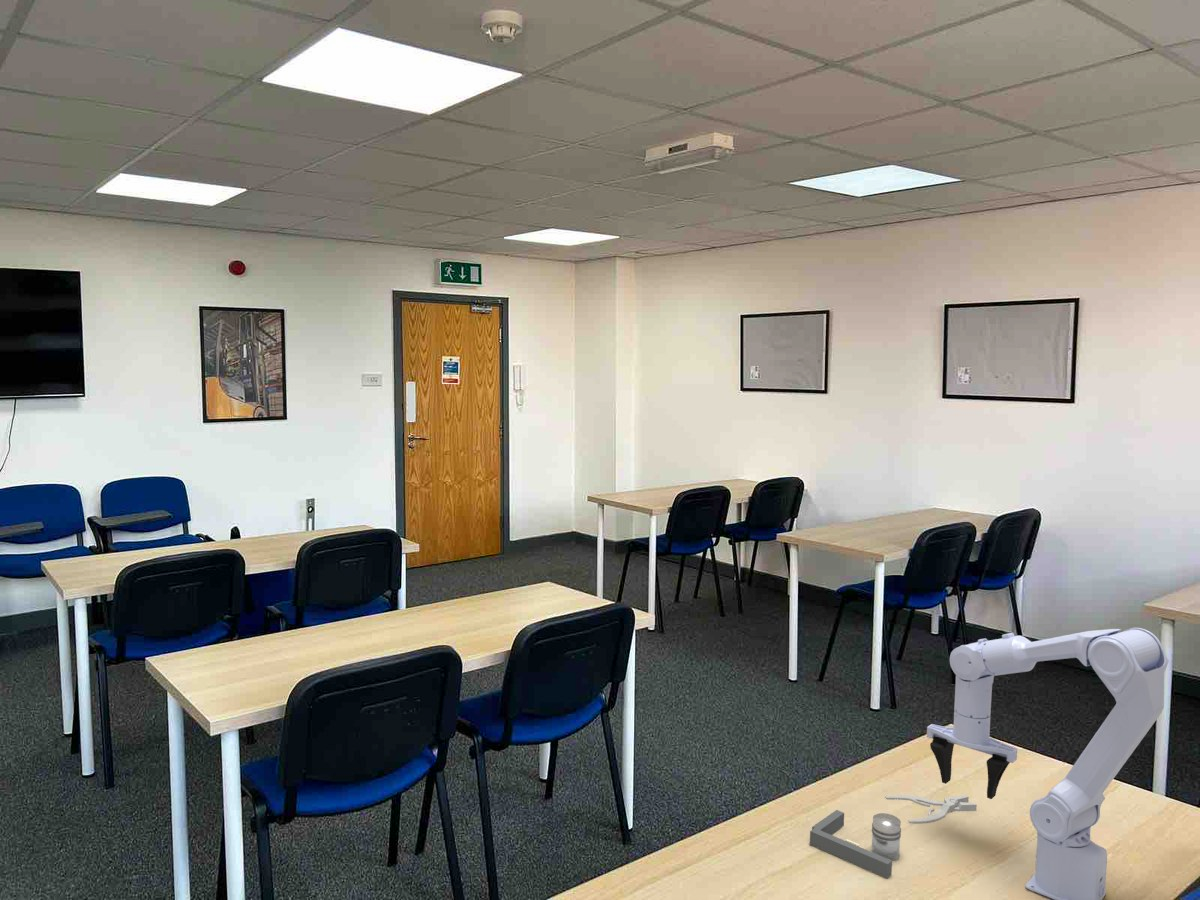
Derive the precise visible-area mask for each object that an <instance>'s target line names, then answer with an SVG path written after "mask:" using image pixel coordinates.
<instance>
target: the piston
mask: <svg viewBox="0 0 1200 900" xmlns="http://www.w3.org/2000/svg"><path fill="white" fill-rule="evenodd" d="M901 823H902V822H901V819H900V818H899V817H897V816H895V815H893V814H890V813H884V812H880V813H875V814H874V815H873V817H872V823H871V833H872V834H871V835H872V836H871V852H873V853H875V854H878V855H880V856H882V857H885V858H887V859H889V860H892V862H895V861H898V860H899V858H900V847H901V846H900V844H901V842H900V841H901V838H902V837H901V836H902V833H901V832H902V828H901Z"/></svg>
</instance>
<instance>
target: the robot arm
mask: <svg viewBox="0 0 1200 900" xmlns="http://www.w3.org/2000/svg"><path fill="white" fill-rule="evenodd" d="M1120 631H1121V632H1120ZM1075 658H1076V659H1077V660H1079V662H1080V663H1081V664H1082V665H1083V666H1084V667H1090V666H1091V668H1092V669H1093V670H1094V672H1095V674H1096V675H1097V676H1098V678H1099V680H1101V682H1102V683H1103V684H1104V685H1105V687H1106V688H1107V689H1108V691H1109V693H1110V694H1111V695H1112V696H1113V697H1114V700H1115V703H1116V704H1115V705H1114V707H1113V708H1112V709H1111V710H1110V712H1109V714H1108V715H1107V716H1106V718H1105V719H1104V721H1103V722H1102V723H1101V725H1100V727H1099V728H1098V730H1097V731H1096V732H1095V734H1094V735H1093V737H1092V738H1091V740H1090V741H1089V742H1088V744H1087V746H1086V747H1085V748H1084V750H1083V751H1082V753H1081V754H1080V755H1079V757H1078V758H1077V759H1076V761H1075V763H1074V764H1073V765H1072V767H1071V768H1070V769H1069V771H1068V773H1067V774H1066V776H1065V777H1064V778H1062V780H1061V781H1059V782H1058V783H1057V784H1055V785H1054V787H1052V788H1051V789H1050V790H1049V792H1048V793H1047V795H1045V796H1043V797H1041V798H1038V799H1036V800H1034V801H1033V802H1032V804H1031V805H1030V808H1029V818H1030V821H1031V823H1032V826H1033V827H1034V829H1035V831H1036V835H1037V836H1036V854H1035V870H1034V873H1033V875H1032V876H1031V877H1030V879H1029V880H1028V881H1027V882H1026V883H1025V888H1026V889H1027V890H1029V891H1032V892H1034V893H1037V894H1039V895H1041V896H1044V897H1046V898H1049V899H1052V900H1103V899H1104V897H1105V895H1106V893H1107V890H1106V881H1107V880H1106V879H1107V867H1108V866H1107V865H1108V864H1107V863H1108V852H1107V849H1106V848H1105V847H1102V845H1101V846H1100V845H1098V844H1097V843H1095V842H1094V841H1092V839H1091V829H1092V828H1091V827H1093V826H1095V825H1096V824H1098V822H1099V820H1100V817H1101V807H1102V804H1103V802H1104V801H1105V800H1106V797H1105V795H1104V793H1105V791H1106V790H1107V788H1108V787H1109V785H1110V784H1111V783H1112V781H1113V780H1114V779H1115V777H1116V776H1117V775H1118V774H1119V772H1120V771H1121V769H1122V768H1123V766H1124V765H1125V764H1126V762H1127V761H1128V759H1129V758H1130V757H1131V755H1132V754H1133V753H1134V751H1135V750H1136V748H1137V747H1138V746H1139V745H1140V744H1141V741H1143V739H1144V737H1146V735H1147V733H1148V732H1149V731H1150V729H1151V728H1152V726H1153V725H1154V724H1155V722H1157V720H1158V718H1159V717H1160V715H1161V714H1162V713H1163V710H1164V707H1165V671H1166V669H1167V668H1168V665H1169V658H1168V657H1167V654H1166V652H1165V649H1164V648H1163V645H1162V642H1161V641H1160V640H1159V638H1158V637H1157V636H1156V635H1155V634H1154V633H1152V632H1151V631H1149V630H1147V629H1145V628H1141V627H1131V628H1127V629H1125V630H1123V631H1122V628H1107V629H1098V630H1096V629H1095V630H1094V629H1093V630H1086V631H1081V632H1076V633H1071V634H1066V635H1060V636H1055V637H1051V638H1050V637H1049V638H1045V639H1040V640H1039V639H1038V640H1035V641H1032V640H1030V639H1028V638H1026V637H1025V636H1023V635H1015V634H1014V632H1010V633H1004V634H1002V635H1001V638H998V639H997V638H995V639H991V640H988V639H987V638H986V637H985V638H980V639H977V641H976V642H971V643H968V644H962V645H960V646H958V647H955V648H954V649H953V650H952V651H951V652H950V655H949V665H950V668H951V670H952V671H953V673H954V675H955V684H954V685H955V686H954V687H955V688H954V706H953V707H954V709H953V711H954V712H953V727H950V726H942V725H938V724H935V723H934V724H933V723H931V724H930V725H928V726H927V727H926V738H929V739H932V741H931V742H930V743H929V744H930V745H929V746H930V747H929V748H930V749H931V751H932V753H933V755H934V757H935V760H936V762H937V765H938V768H939V771H940V777H941V778H940V779H941V783H942V784H948V783H949V782H950V781H951V778H952V777H951V776H952V759H953V751H954V745H957V746H961V747H964V748H967V749H970V750H974V751H977V752H980V753H983V754H986V755H990V756H991V757H989V758H988V759H987V760H986V767H987V768H986V769H987V787H986V798H987V799H989V800H992V799H994V797H995V796H996V795H997V789H998V787H999V784H1000V781H1001V778H1002V777H1003V775H1004V773H1005V772H1006V769H1007V768H1008V766H1009V765H1010V763H1011V764H1014V762H1016V761H1017V759H1018V748H1016V747H1014V746H1011V745H1007V744H1006V743H1004V742H1001V741H1000V740H996V739H994V738H992V737H991V736H990V733H991V730H990V729H991V714H992V710H991V709H992V694H993V692H992V690H993V684H994V678H995V676H996V677H997V676H1001V675H1010V674H1018V673H1026V672H1030V671H1032V670H1033V669H1034V668H1035V666H1036V664H1037V663H1038V662H1045V661H1057V660H1064V659H1075Z"/></svg>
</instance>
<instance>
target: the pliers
mask: <svg viewBox="0 0 1200 900" xmlns="http://www.w3.org/2000/svg"><path fill="white" fill-rule="evenodd" d="M884 798H886V799H887V800H893V801H894V800H895V799H896V800H897V799H898V800H901V801H911V802H913V803H915V804H917V805H920V806H923V807H928V808H930V807H931V806H939V807H940V808H939V809H938V810H937V812H935V813H934V814H932V812H934V811H935V808H934V807H932V808H931V809H929V811H928V812H927V813H928V814H927V815H928V816H926V817H920V818H915V819H909V820H907V822H908V824H915V825H916V824H919V825H920V824H929V823H934V822H937V821H940V820H942V819H944V818H945V817H946V816H947V815H948V814H949V813H952V812H972V811H973V812H975V811H977V807H978V806H977V803H976V802H969V798H970V797H969V796H968V795H965V794H964V795H956V796H955V795H954V796H948V797H945V798H944V799H943V800H942V801H939V800H935V799H931V798H928V797H922V796H917V795H906V794H905V795H902V794H896V795H893V794H892V795H887V796H885V797H884ZM886 799H885V800H886Z"/></svg>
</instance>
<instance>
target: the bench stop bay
mask: <svg viewBox="0 0 1200 900" xmlns="http://www.w3.org/2000/svg"><path fill="white" fill-rule="evenodd" d="M844 825H845V812H843V811H841V810H838V809H836V810H834V811H833V812H832V813H830V814H829V815H827V816H825V817H824V818H823V819H821V820H819V822H817V823H816V824H814V825H813V826H812V827H811V830H810V831H809V845H810V846H812V847H814V848H816V849H819V850H821V851H824V852H826V853H828V854H830V855H833V856H834V857H837V858H839V859H842V860H844V861H846V862H849V863H850V864H853V865H856V866H858V867H860V868H862V869H864V870H867V871H869V872H871V873H873V874H876V875H879V876H880V877H883V878H885V879H889V878H890V877H891V876H892V872H893V871H892V869H893V861H892V860H889V859H887V858H885V857H882V856H880V855H878V854H875V853H873V852H872V851H870V850H867V849H866V848H863V847H860V846H861V844H860V843H857V842H855V841H852V840H850V839H845V840H844V839H842V838H839V837H837V836H835V835H833V834H834V833H836V832H837V831H839V830H840V829H841V828H843V827H844ZM842 826H843V827H842Z"/></svg>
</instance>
